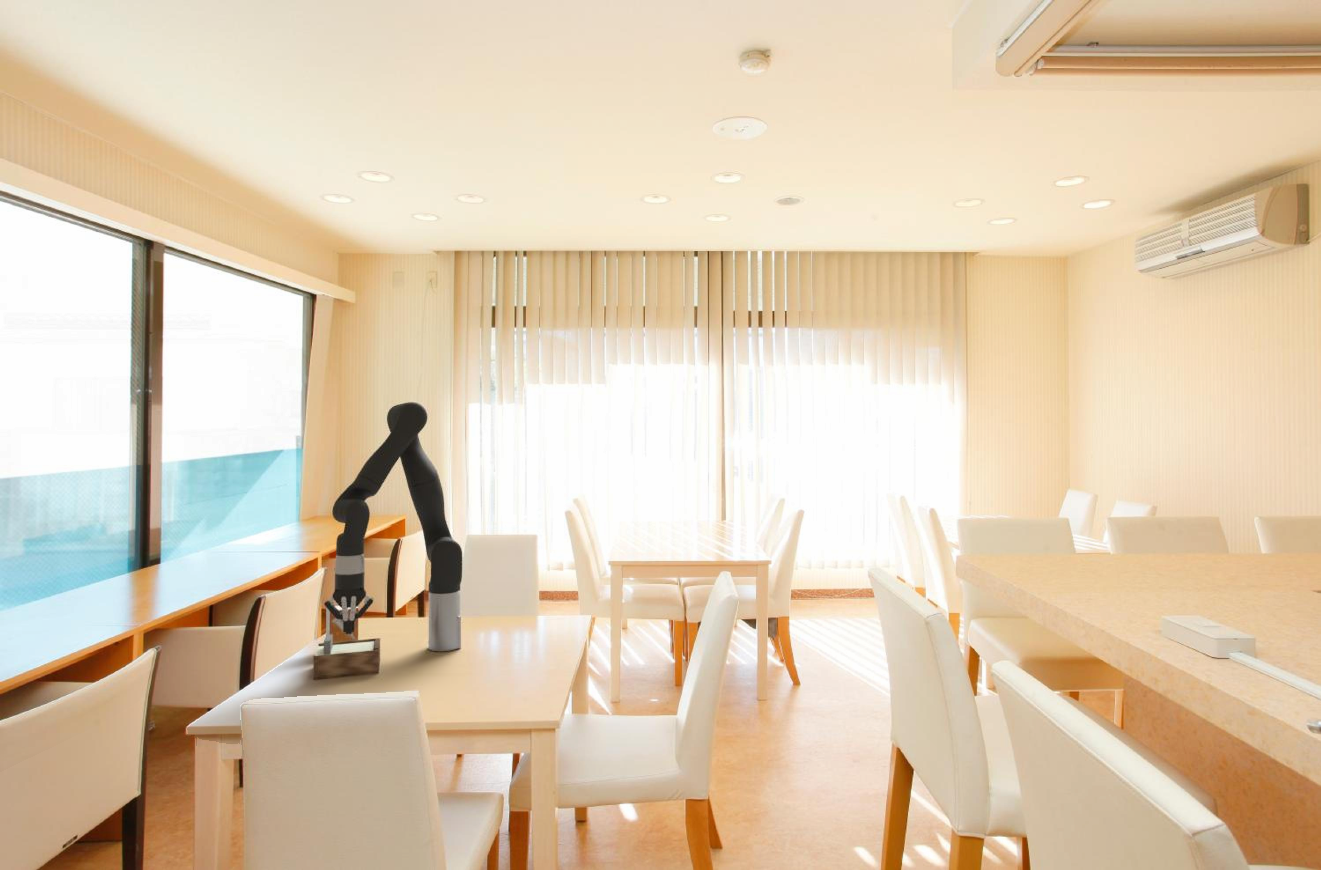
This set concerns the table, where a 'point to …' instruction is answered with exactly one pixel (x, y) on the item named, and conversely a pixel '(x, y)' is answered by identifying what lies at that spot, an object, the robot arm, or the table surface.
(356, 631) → the small box
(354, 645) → the cover plate
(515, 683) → the table surface
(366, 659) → the walnut box
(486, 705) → the table surface
